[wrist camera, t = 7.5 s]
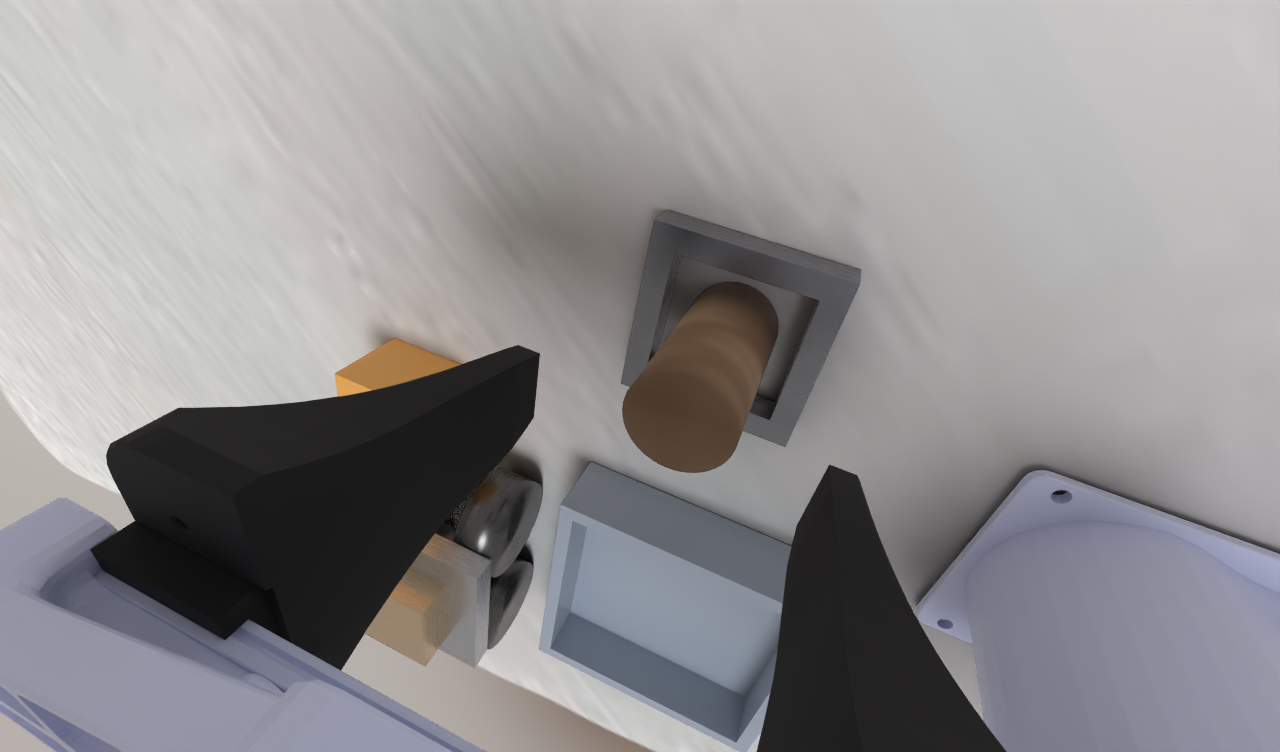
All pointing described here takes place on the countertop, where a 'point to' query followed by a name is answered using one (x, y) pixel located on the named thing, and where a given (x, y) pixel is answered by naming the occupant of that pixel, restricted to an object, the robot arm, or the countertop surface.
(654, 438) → the pin
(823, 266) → the socket ring
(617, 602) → the tray
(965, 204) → the countertop surface
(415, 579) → the trolley
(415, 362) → the block
